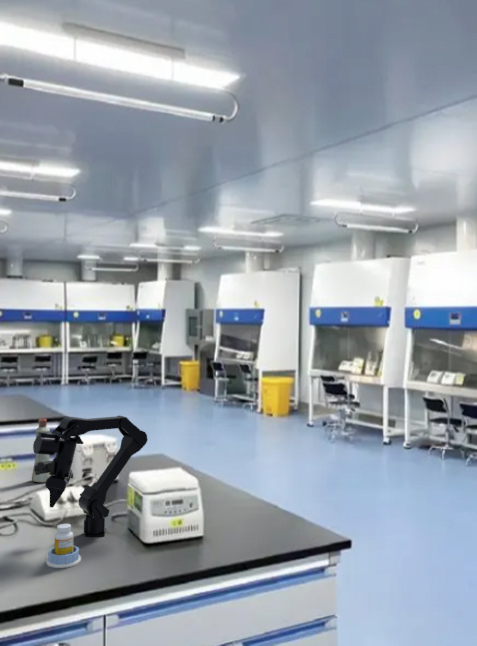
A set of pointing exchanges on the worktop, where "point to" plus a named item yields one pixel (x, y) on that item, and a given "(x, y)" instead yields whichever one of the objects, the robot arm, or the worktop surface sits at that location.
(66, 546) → the supplement bottle
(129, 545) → the worktop surface
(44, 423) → the bottle
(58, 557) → the holder
